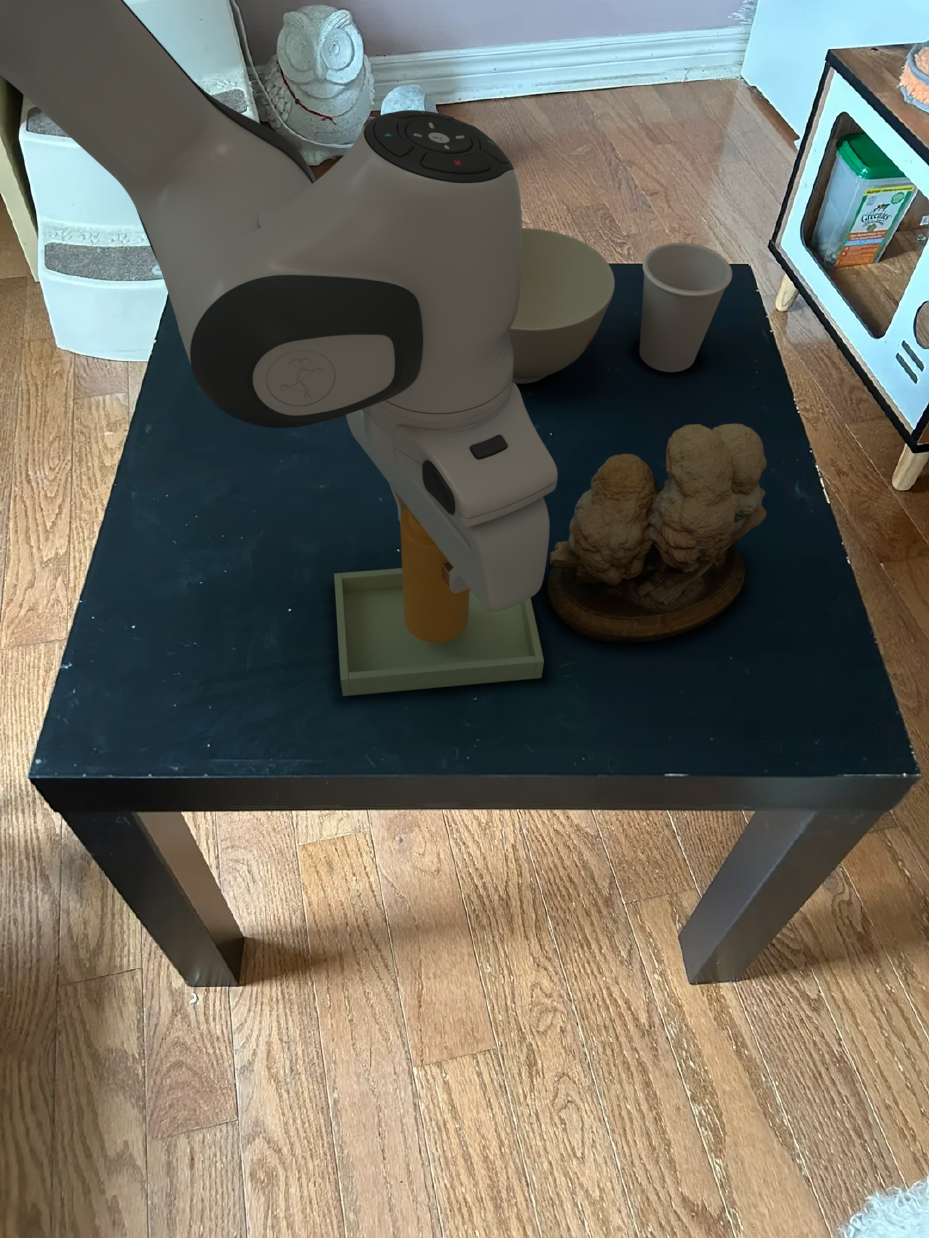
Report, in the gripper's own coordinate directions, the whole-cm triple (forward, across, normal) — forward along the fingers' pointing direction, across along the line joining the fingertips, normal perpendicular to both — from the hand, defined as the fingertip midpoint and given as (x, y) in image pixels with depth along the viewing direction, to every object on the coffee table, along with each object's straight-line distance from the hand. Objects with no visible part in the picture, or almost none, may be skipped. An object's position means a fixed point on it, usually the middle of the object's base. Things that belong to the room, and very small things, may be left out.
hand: (435, 554), depth 69 cm
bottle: (+8, 0, 0) cm, 8 cm away
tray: (+10, 0, 0) cm, 10 cm away
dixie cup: (+10, -19, +38) cm, 44 cm away
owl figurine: (+10, +4, +18) cm, 21 cm away
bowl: (+10, -25, +24) cm, 36 cm away
